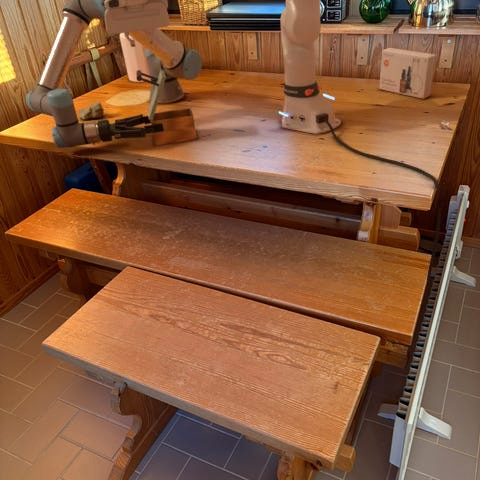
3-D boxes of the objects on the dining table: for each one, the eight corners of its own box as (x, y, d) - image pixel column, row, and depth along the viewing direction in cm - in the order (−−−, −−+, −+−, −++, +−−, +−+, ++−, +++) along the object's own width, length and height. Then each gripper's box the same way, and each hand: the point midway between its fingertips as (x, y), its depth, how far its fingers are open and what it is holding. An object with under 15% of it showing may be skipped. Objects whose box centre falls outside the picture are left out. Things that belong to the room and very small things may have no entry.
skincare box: (377, 89, 194) (381, 50, 185) (385, 86, 197) (389, 47, 188) (423, 99, 180) (429, 56, 171) (430, 95, 183) (437, 53, 174)
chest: (193, 129, 174) (190, 107, 170) (196, 139, 167) (193, 115, 162) (154, 135, 173) (150, 113, 168) (155, 145, 165) (150, 122, 160)
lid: (164, 70, 161) (139, 61, 158) (165, 77, 153) (139, 68, 150) (151, 112, 168) (127, 104, 165) (152, 120, 160) (126, 112, 157)
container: (160, 81, 233) (149, 21, 217) (121, 82, 238) (108, 23, 222) (174, 69, 249) (165, 13, 233) (138, 70, 254) (126, 15, 238)
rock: (80, 117, 200) (78, 121, 191) (76, 102, 197) (75, 105, 188) (105, 114, 202) (105, 117, 193) (102, 99, 199) (101, 102, 190)
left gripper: (103, 130, 174) (162, 122, 177) (100, 153, 156) (165, 143, 159) (98, 111, 170) (159, 102, 173) (94, 132, 152) (162, 122, 155)
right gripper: (165, -8, 146) (173, 38, 154) (100, 1, 144) (111, 47, 152) (166, -6, 141) (174, 42, 149) (99, 3, 139) (111, 51, 147)
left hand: (162, 122), depth 166 cm, fingers closed on chest, 9 cm apart
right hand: (142, 45), depth 151 cm, fingers open, 5 cm apart
